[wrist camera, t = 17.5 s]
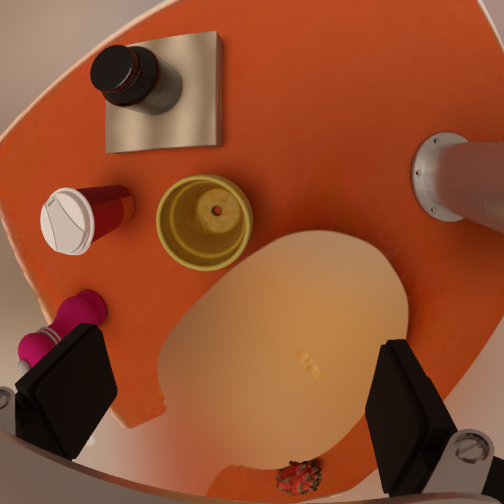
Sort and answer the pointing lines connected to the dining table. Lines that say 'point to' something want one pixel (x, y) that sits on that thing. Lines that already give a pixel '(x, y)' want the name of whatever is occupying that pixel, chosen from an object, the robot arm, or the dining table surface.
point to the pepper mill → (61, 327)
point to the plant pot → (204, 222)
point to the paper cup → (84, 216)
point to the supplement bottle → (136, 79)
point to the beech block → (187, 107)
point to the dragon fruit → (299, 478)
